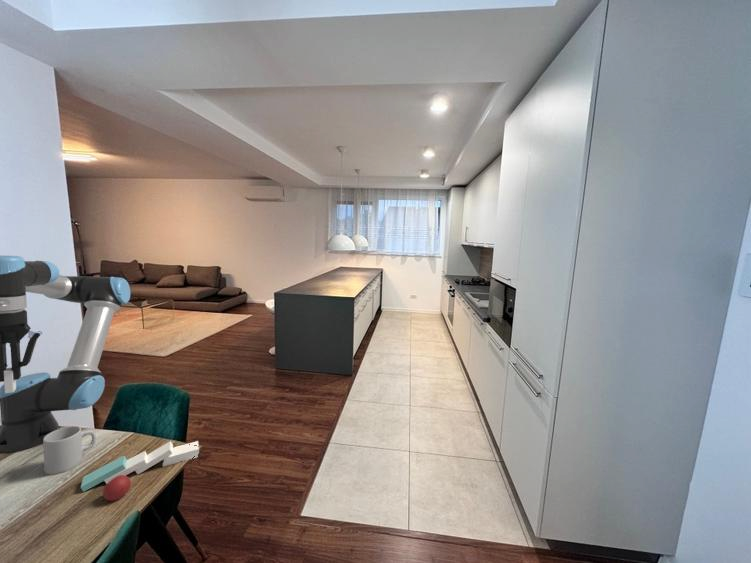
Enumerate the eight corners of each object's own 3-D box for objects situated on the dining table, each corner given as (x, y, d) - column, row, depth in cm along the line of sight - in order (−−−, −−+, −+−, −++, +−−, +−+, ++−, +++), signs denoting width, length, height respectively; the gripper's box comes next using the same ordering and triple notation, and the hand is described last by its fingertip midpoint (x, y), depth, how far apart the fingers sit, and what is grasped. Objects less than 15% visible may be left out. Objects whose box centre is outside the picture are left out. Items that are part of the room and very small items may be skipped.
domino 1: (80, 487, 85) (123, 464, 91) (83, 476, 89) (124, 455, 95) (83, 491, 86) (125, 468, 91) (86, 481, 90) (126, 459, 95)
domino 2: (104, 480, 88) (144, 459, 94) (107, 470, 92) (145, 450, 98) (107, 485, 89) (146, 464, 94) (109, 474, 93) (147, 455, 98)
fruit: (107, 511, 82) (114, 494, 80) (98, 495, 84) (104, 478, 82) (132, 495, 88) (140, 479, 86) (123, 481, 90) (130, 464, 87)
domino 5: (162, 463, 97) (197, 454, 103) (164, 454, 102) (197, 445, 107) (162, 468, 98) (197, 458, 103) (164, 458, 102) (197, 450, 107)
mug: (45, 479, 90) (44, 445, 89) (43, 465, 95) (41, 433, 94) (98, 459, 99) (97, 428, 98) (93, 447, 104) (92, 418, 103)
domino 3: (134, 470, 93) (169, 449, 98) (137, 460, 97) (170, 441, 102) (137, 474, 94) (172, 453, 98) (139, 464, 98) (172, 444, 102)
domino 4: (164, 458, 97) (199, 448, 103) (164, 449, 101) (198, 440, 107) (164, 463, 97) (198, 453, 103) (164, 454, 101) (198, 445, 107)
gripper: (-40, 315, 75) (-33, 402, 77) (37, 311, 83) (41, 390, 85) (-27, 309, 81) (-21, 391, 83) (43, 306, 89) (47, 380, 91)
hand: (10, 390), depth 84 cm, fingers closed
